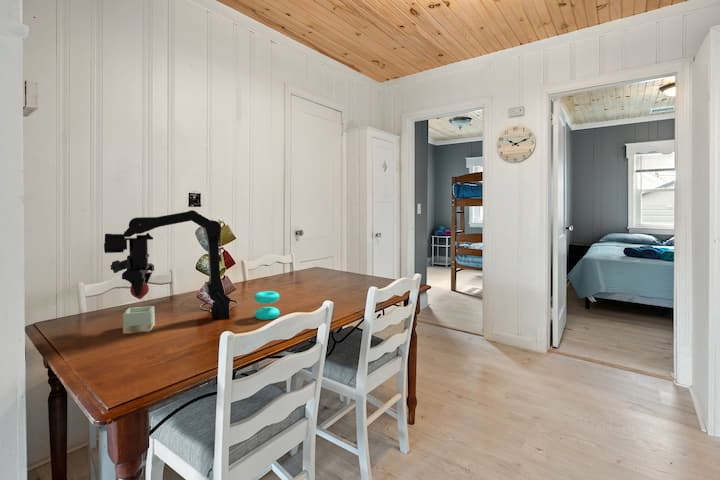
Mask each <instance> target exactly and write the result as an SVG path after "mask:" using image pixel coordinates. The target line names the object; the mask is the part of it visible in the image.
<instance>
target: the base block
mask: <svg viewBox="0 0 720 480" xmlns="http://www.w3.org/2000/svg"><path fill="white" fill-rule="evenodd" d="M155 325H156V317H155V318H154V320H153V321H152V323H151V324H147V325H136V326H124V327H123V326H122V333H123V334H134V333H135V334H137V333H147V332H151V331H152V329H153V328H154V327H153V326H155Z"/></svg>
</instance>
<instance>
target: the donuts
mask: <svg viewBox="0 0 720 480" xmlns="http://www.w3.org/2000/svg"><path fill="white" fill-rule="evenodd" d="M279 299H280V293H279V292H276V291H272V290H271V291H267V290H265V291H259V292H257V293H255V295H254V300H255V302H256V303H259V304H265V305H266V304H274V303H275V302H278V301H279ZM254 316H255V318H256V319H258V320H261V321H262V320H263V321H264V320H265V321H268V320H269V321H270V320H274V319H276V318H278V317H279V316H280V310H279V309H278V308H277V307H274V306H263V307H260V308H258V309H257V310H256V311H255V312H254Z"/></svg>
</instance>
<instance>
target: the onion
mask: <svg viewBox="0 0 720 480" xmlns="http://www.w3.org/2000/svg"><path fill="white" fill-rule="evenodd" d="M130 285H131V284H130ZM149 291H150V288H149V284H148V283H146V282H144V284H143V287H142V290H141V292H140V295H139V296H135V293H134V290H133V287H132V285H131V286H130V291H129V292H130V294H131V296H133V297H134V298H136V299H138V300H142V299H143V298H144V297H145V296H146V295H147V294H148V293H149Z"/></svg>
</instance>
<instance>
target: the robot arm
mask: <svg viewBox="0 0 720 480" xmlns="http://www.w3.org/2000/svg"><path fill="white" fill-rule="evenodd" d="M185 222H193V223H194V224H196V225H198V226H199V227H201V228H202V229H203V234H204V236H205V239H206V243H207V255H208V257H207V258H208V272H209V273H208V274H209V277H208V278H209V279H208V281H204V285H205V290H204V292H205V293H206V295H207V296H208V297H209V299H210V300H212V301H213V302H212V305H211V308H210V313H211V316H210V317H211V318H212V320H213V321H214V320H228V319H230V318H231V313H230V311H231V310H230V309H231V308H230V307H231V306H230V303H231V301H232V300H231V298H230V297H229V296H228V295H227V294H226V292H225V288H224V285H223V282H222V279H221V267H220V265H221V264H220V250H219V248H220V247H219V242H220V239H221V231H222V226H221V223H220V222H218V221H217V220H214V219H209V218H207V217H206V216H203V215H202V214H200V213H199V212H197V211H196V210H193V209H191V210H188V211H182V212H176V213H172V214H166V215H160V216H144V217H143V216H139V217H133V218H132V219H130V221H129V223H128V228H126V230H125V231H123V232H124V233H105V234H104V243H103V250H104V251H103V252H104V254H114V253H115V254H117V253H119V254H120V253H124V251H126V250H128V249H129V250H128V251H129V255H127V256H126V259H123V260H121V261H119V260H114V261H112V262H111V265H110V270H112V271H113V274H116V273H117V274H118V273H119V272H120V271H123V270H125V271H124V272H122V274H121V280H125V281H127V282H129V283H130V285H132V287H133V290H134V293H135V296H139V295H140V292H141V290H142V287H143V284H144V282H146V283H147V284H149V281H150V279H151V276H152V274H153V272H154V271H155V265H154V264H153V263H152V262H151V263H149V257H150V254H149V252H148V250H149V249H148V240H151V241H152V240H154V237H153V236H152V235H151V234H150V233H149V231H152V230H154V229H157V228H160V227H165V226H170V225H175V224H181V223H185ZM146 232H147V233H146ZM144 233H146V234H144ZM134 235H136V237H132V236H134ZM128 244H129V246H128ZM128 247H129V248H128Z"/></svg>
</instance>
